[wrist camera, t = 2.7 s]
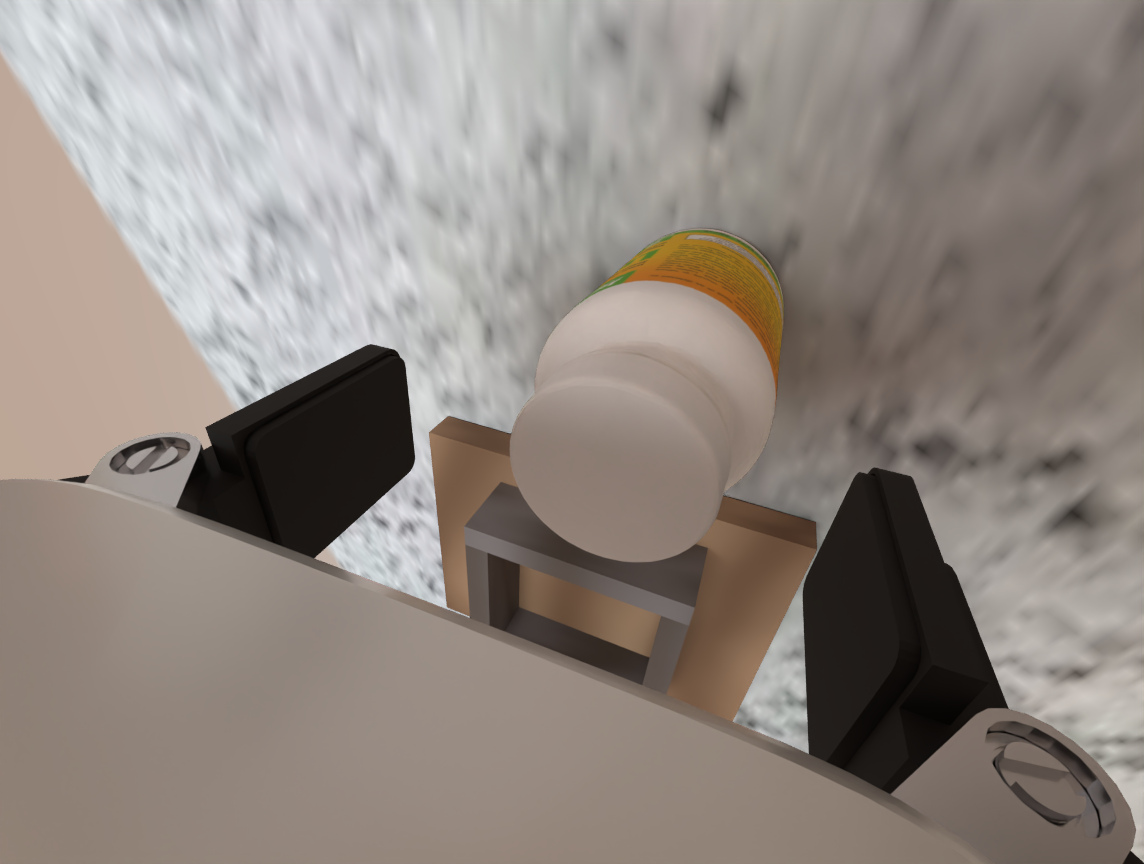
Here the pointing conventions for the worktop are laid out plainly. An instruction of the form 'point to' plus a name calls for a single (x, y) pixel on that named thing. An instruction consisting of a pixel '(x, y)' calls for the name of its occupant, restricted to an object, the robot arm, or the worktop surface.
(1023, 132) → the worktop surface
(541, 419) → the supplement bottle
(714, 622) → the collar board
